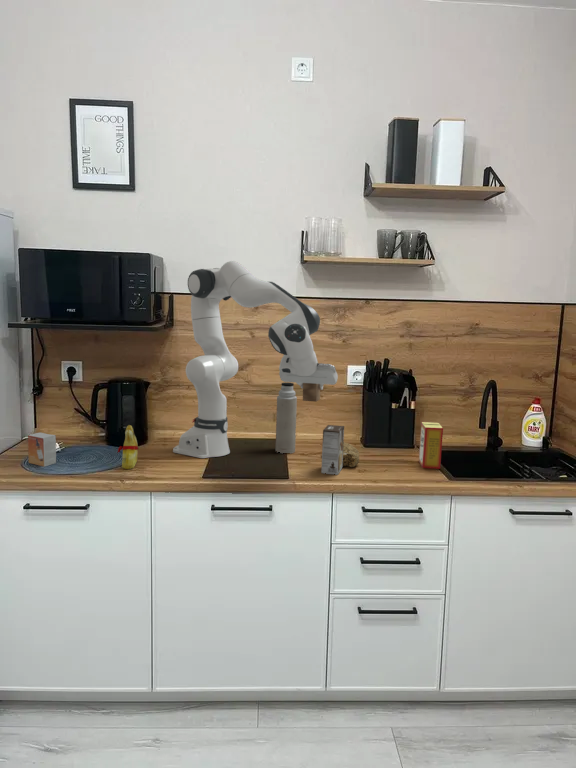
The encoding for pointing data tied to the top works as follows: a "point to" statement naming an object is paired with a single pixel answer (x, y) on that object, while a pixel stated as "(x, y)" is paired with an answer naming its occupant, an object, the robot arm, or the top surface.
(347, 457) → the sponge
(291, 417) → the thermos bottle
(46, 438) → the small box
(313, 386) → the walnut block
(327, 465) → the coffee box
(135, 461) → the chocolate bunny
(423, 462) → the baking soda box
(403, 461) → the top surface
